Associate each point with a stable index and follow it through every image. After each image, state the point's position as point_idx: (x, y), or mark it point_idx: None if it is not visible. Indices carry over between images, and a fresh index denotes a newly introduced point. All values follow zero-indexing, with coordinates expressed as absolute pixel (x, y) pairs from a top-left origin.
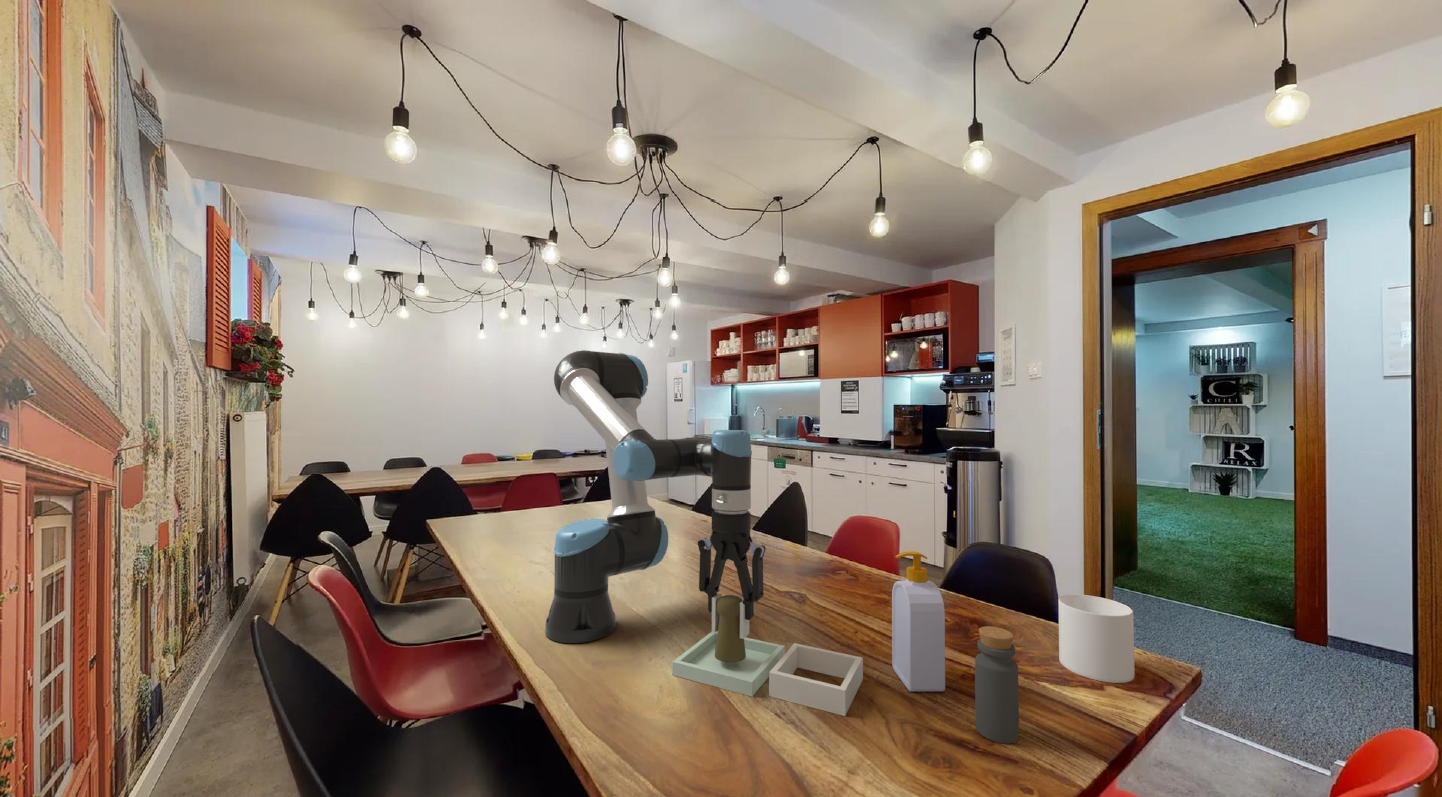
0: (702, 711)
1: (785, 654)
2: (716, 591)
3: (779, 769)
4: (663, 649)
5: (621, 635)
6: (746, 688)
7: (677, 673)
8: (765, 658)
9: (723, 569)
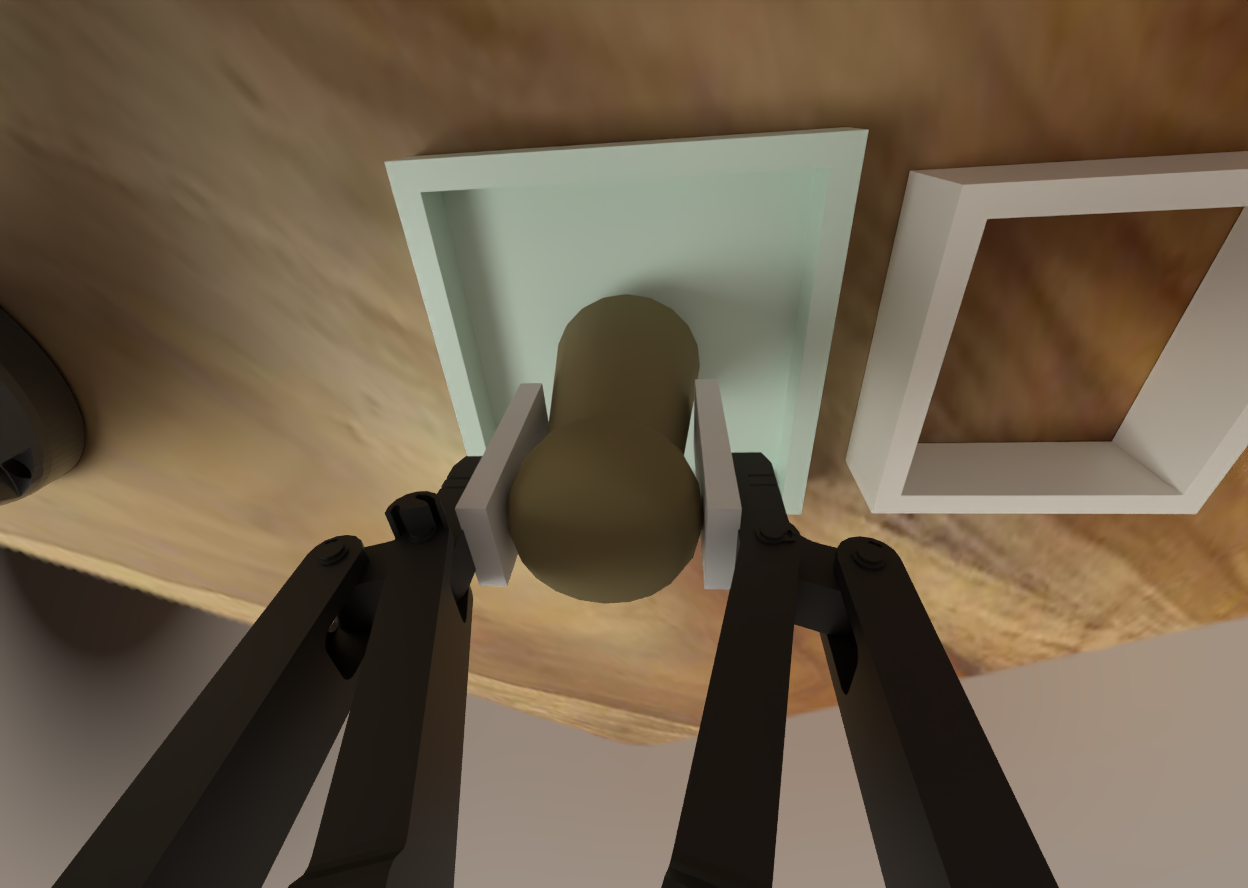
0: (688, 582)
1: (920, 351)
2: (455, 554)
3: None
4: (316, 351)
5: (78, 330)
6: None
7: None
8: (759, 229)
9: (426, 728)
